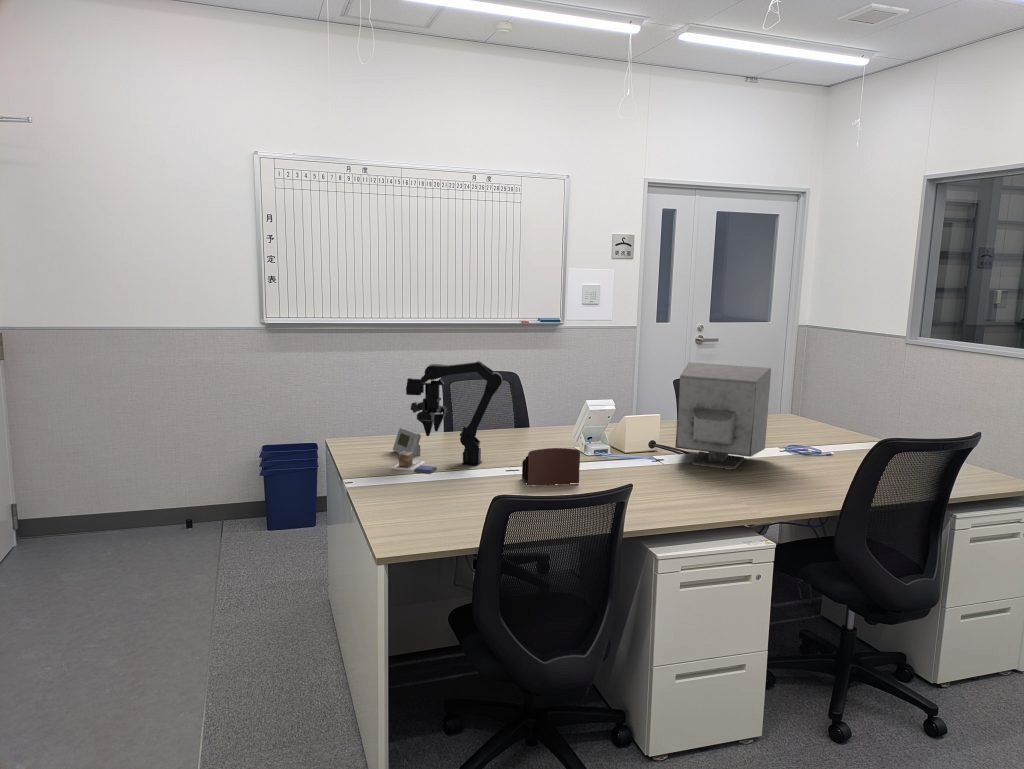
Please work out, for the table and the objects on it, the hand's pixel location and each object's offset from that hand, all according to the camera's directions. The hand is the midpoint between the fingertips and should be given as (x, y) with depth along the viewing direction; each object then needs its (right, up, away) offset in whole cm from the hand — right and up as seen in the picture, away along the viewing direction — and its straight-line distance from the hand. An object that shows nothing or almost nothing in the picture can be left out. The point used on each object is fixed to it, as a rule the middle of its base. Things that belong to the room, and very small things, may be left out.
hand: (432, 433), depth 299 cm
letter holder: (+47, -17, -22) cm, 54 cm away
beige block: (-10, -12, -8) cm, 17 cm away
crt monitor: (+119, -13, +12) cm, 120 cm away
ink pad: (-1, -14, -11) cm, 18 cm away
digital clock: (-12, -10, +13) cm, 21 cm away
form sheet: (-9, -13, -5) cm, 16 cm away
